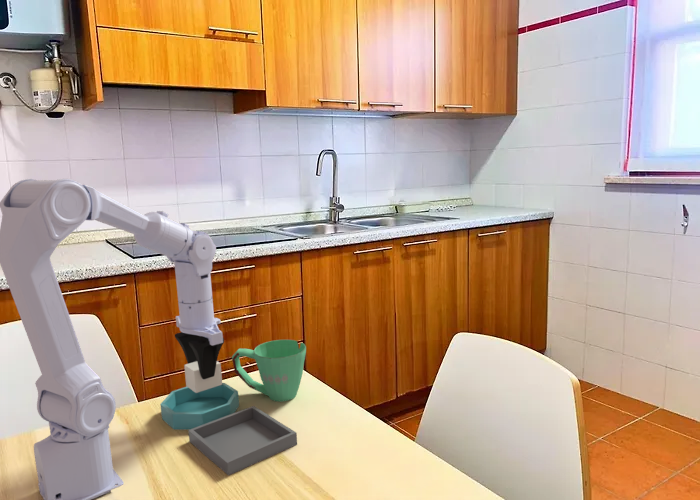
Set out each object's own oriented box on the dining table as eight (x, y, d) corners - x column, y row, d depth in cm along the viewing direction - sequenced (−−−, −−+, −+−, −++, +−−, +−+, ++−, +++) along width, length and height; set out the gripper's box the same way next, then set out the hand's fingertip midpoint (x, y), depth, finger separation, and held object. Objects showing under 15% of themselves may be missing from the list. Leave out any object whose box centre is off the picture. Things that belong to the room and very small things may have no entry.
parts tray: (228, 478, 80) (227, 462, 79) (189, 444, 90) (188, 430, 89) (297, 447, 87) (296, 432, 87) (254, 418, 97) (253, 405, 97)
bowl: (183, 439, 91) (181, 421, 90) (154, 414, 101) (152, 397, 100) (249, 414, 99) (248, 397, 98) (217, 393, 109) (215, 377, 108)
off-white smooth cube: (195, 393, 94) (193, 371, 94) (186, 386, 97) (184, 364, 97) (222, 384, 97) (220, 363, 97) (212, 377, 100) (210, 357, 100)
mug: (314, 388, 109) (311, 340, 107) (300, 411, 100) (297, 359, 98) (245, 384, 112) (241, 338, 110) (225, 406, 103) (220, 356, 101)
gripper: (236, 302, 91) (242, 378, 94) (198, 287, 102) (205, 356, 105) (196, 311, 87) (204, 391, 89) (161, 295, 98) (169, 367, 100)
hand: (202, 373), depth 97 cm, fingers closed on off-white smooth cube, 4 cm apart
